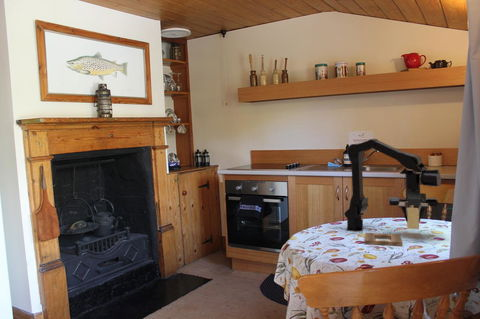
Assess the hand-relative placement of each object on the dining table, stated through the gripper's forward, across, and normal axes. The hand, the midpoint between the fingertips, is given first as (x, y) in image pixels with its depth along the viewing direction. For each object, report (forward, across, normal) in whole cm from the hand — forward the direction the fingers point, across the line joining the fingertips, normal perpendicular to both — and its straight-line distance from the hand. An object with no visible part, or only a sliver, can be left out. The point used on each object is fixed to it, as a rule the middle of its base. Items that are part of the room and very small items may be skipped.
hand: (412, 221), depth 171 cm
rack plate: (+7, -12, -11) cm, 18 cm away
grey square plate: (+7, 0, 0) cm, 7 cm away
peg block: (+2, 0, 0) cm, 2 cm away
